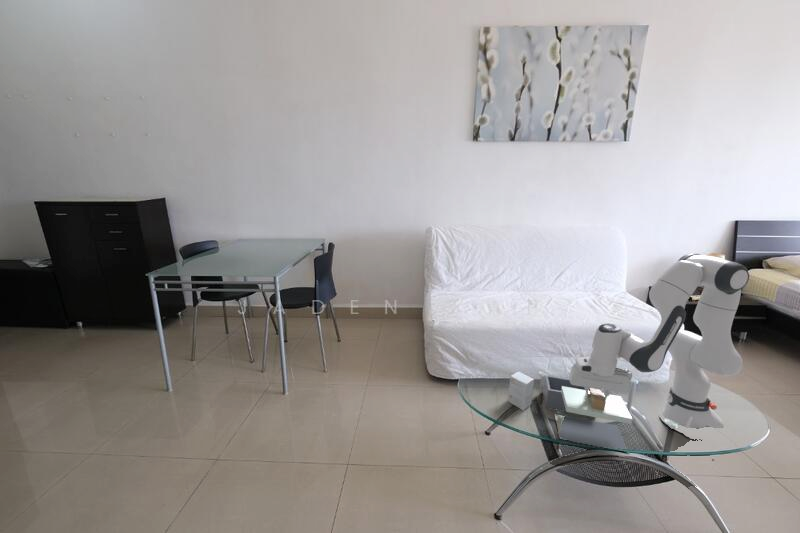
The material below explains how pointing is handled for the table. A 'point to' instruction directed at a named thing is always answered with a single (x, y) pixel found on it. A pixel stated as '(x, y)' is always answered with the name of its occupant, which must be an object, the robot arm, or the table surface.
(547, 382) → the storage box
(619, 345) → the robot arm
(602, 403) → the lid
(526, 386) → the small box
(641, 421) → the table surface
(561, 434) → the mat
